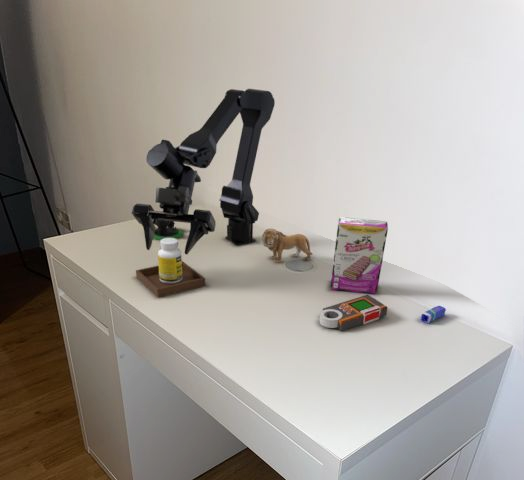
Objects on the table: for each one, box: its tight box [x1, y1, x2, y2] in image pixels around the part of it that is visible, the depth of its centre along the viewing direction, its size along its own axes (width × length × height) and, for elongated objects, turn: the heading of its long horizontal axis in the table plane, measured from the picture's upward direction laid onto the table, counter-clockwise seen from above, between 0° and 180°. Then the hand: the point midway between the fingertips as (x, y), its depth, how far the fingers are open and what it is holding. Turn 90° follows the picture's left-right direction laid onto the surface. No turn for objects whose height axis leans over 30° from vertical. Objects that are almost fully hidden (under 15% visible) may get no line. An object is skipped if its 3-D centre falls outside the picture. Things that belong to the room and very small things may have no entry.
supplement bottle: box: [157, 238, 183, 284], centre depth 126 cm, size 5×5×10 cm
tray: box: [135, 260, 206, 298], centre depth 129 cm, size 12×12×2 cm
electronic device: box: [319, 293, 388, 332], centre depth 116 cm, size 7×3×15 cm
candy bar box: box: [330, 216, 389, 295], centre depth 125 cm, size 11×5×16 cm, turn 81°
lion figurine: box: [262, 228, 313, 263], centre depth 141 cm, size 15×5×9 cm, turn 113°
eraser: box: [420, 305, 447, 324], centre depth 117 cm, size 2×6×2 cm, turn 128°
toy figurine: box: [153, 220, 184, 241], centre depth 155 cm, size 10×10×6 cm
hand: (166, 251), depth 124 cm, fingers open, 9 cm apart
